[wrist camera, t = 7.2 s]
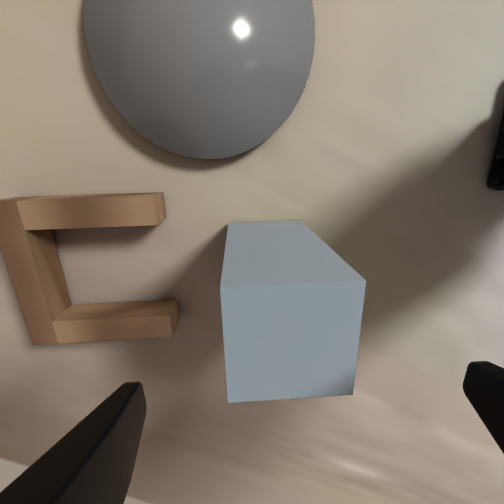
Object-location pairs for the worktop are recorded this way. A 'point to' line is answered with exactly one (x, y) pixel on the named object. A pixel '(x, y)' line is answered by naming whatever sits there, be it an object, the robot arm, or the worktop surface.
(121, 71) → the charcoal trivet
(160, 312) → the walnut bay
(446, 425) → the worktop surface
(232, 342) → the slate block
